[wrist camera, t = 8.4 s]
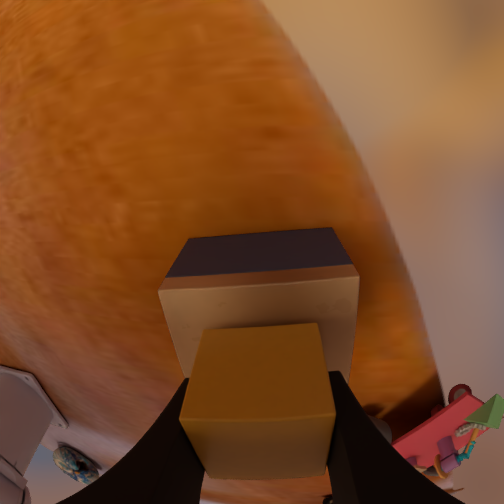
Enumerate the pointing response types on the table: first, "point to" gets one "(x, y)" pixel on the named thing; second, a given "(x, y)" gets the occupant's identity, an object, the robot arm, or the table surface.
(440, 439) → the toy car
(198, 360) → the block
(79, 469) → the decorative stone
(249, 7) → the table surface
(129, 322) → the table surface
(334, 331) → the board
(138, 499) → the robot arm
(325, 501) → the bird model
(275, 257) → the box
